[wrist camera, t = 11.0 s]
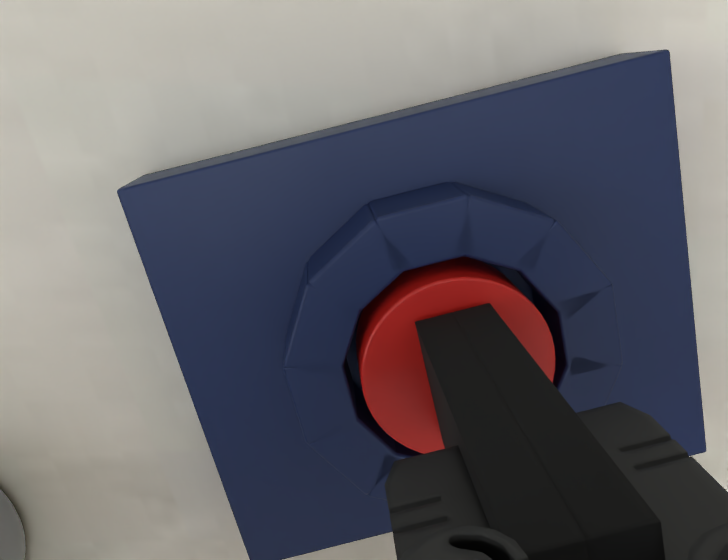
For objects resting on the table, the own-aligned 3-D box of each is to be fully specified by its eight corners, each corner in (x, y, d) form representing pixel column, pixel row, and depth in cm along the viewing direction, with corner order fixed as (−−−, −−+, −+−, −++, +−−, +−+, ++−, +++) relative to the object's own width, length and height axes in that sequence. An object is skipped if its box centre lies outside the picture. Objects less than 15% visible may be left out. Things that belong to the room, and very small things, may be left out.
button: (377, 436, 15) (386, 479, 14) (336, 280, 14) (339, 306, 13) (542, 394, 15) (569, 432, 14) (513, 234, 14) (539, 255, 13)
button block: (258, 514, 19) (244, 624, 15) (141, 175, 16) (86, 205, 12) (663, 411, 19) (752, 495, 15) (623, 53, 16) (721, 43, 12)
